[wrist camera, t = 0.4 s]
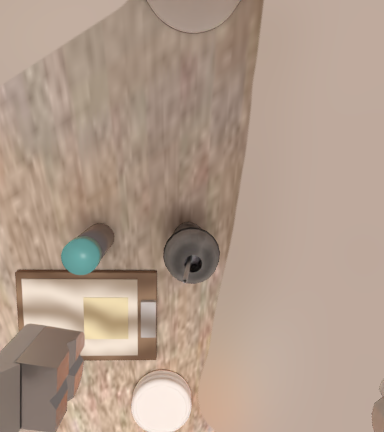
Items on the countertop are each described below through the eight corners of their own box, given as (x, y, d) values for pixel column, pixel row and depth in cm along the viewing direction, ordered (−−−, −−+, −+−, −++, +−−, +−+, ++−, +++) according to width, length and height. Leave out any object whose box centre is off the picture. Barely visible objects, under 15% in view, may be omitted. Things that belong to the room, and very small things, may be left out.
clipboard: (18, 270, 56) (12, 274, 53) (156, 270, 57) (156, 274, 55) (23, 356, 58) (17, 364, 56) (156, 355, 59) (155, 363, 57)
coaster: (174, 429, 62) (173, 445, 58) (123, 406, 60) (120, 421, 57) (200, 382, 60) (202, 396, 57) (149, 359, 59) (148, 371, 56)
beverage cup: (217, 247, 57) (240, 293, 37) (176, 264, 57) (177, 320, 37) (200, 206, 55) (214, 231, 36) (158, 224, 56) (149, 259, 36)
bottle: (85, 222, 55) (60, 239, 43) (114, 223, 55) (98, 239, 43) (86, 250, 56) (61, 275, 44) (115, 251, 56) (98, 275, 44)
